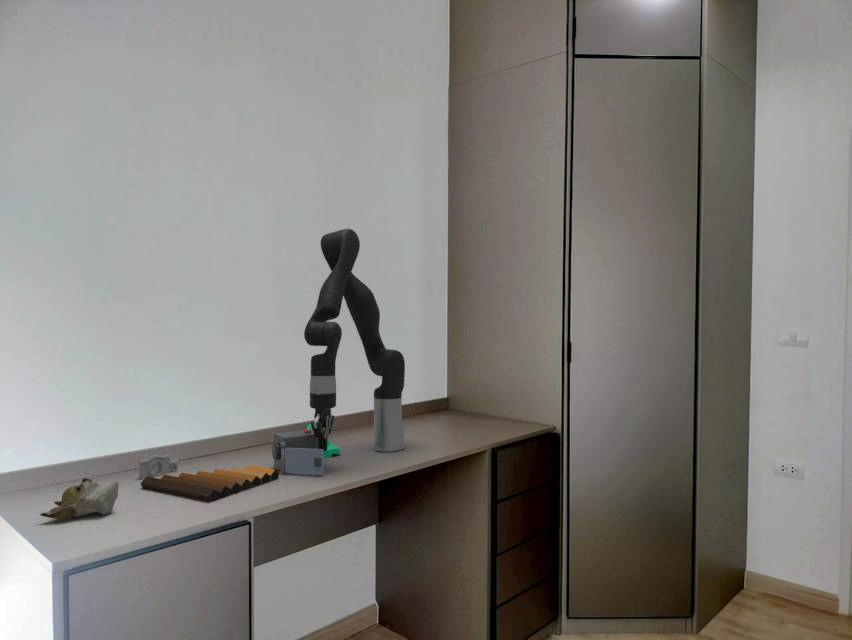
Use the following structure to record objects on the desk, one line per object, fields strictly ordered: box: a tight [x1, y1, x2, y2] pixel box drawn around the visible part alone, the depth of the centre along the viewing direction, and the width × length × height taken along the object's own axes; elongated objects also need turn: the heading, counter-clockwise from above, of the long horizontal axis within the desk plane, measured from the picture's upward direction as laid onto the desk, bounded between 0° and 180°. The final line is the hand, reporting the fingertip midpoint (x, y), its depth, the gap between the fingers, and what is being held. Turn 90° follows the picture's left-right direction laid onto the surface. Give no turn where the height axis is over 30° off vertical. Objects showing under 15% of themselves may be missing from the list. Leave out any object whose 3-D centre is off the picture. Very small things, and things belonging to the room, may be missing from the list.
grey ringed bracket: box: [137, 453, 179, 480], centre depth 179 cm, size 12×2×6 cm, turn 149°
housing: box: [271, 428, 318, 472], centre depth 186 cm, size 13×10×11 cm
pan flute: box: [140, 465, 280, 503], centre depth 170 cm, size 25×3×25 cm
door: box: [280, 447, 325, 476], centre depth 178 cm, size 12×2×7 cm, turn 79°
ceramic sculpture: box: [40, 478, 119, 520], centre depth 144 cm, size 11×9×15 cm
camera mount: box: [306, 423, 341, 460], centre depth 202 cm, size 12×8×10 cm, turn 132°
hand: (322, 450), depth 183 cm, fingers closed
